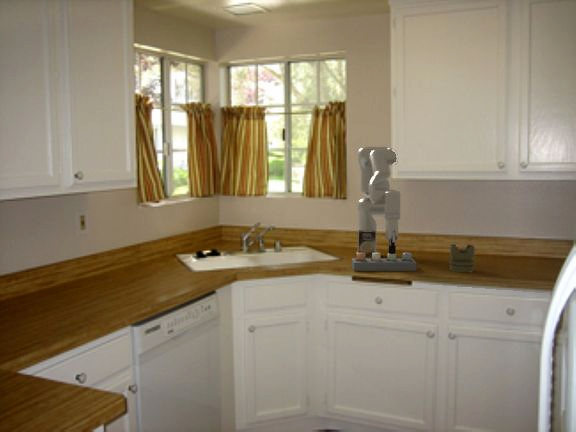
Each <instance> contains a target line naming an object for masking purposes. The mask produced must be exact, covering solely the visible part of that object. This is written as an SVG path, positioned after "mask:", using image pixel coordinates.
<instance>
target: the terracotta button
mask: <svg viewBox="0 0 576 432" xmlns="http://www.w3.org/2000/svg"><path fill="white" fill-rule="evenodd" d="M356 258H357V261H365V253H357V254H356Z"/></svg>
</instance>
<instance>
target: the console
mask: <svg viewBox="0 0 576 432" xmlns="http://www.w3.org/2000/svg"><path fill="white" fill-rule="evenodd" d="M417 263H418V262H416V260H415V259H413V258H412V257H411V261H403V257H401V258H400V257H399V258H397V257H396V261H388V257H386V258H381V260H380V261H372V258H365V261H357V257H354V258H353V257H352V258H351V268H352V270H353V271H354V272H359V271H360V272H364V271H365V272H369V271H370V272H375V271H376V272H377V271H378V272H379V271H380V272H382V271H384V272H388V271H389V272H392V271H393V272H394V271H395V272H403V271H405V272H406V271H408V272H410V271H411V272H412V271H413V272H416V271H417V269H418V267H417V266H418V265H417Z"/></svg>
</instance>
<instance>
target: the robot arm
mask: <svg viewBox="0 0 576 432" xmlns="http://www.w3.org/2000/svg"><path fill="white" fill-rule="evenodd" d="M392 149H393V148H391V147H389V146H364V147H363V146H362V147H361V148H359V149H358V152H357V160H358V164H359V167H360V192H361V194H362V195H364V196H369V197H363V198H360V199H359V200H358V202H357V211H358V222H359V223H358V230H373V231H376V232H377V221H376V219H375V218H374V217H373V216H378V215H379V216H382V215H384V220H385V236H384V238H385V239H386V240H387V241H388V253H389V254H396V255H397V253H396V251H397V249H396V248H397V246H396V245H397V244H396V243H397V240H398V239H399V221H400V220H401V192H400V191H399V190H396V189H391V185H390V182H389V180H388V179H389V178H390V176H391V170H390V166H393V165H392V164H393V163H394V162H396V159H397V158H396V154H395V152H393V151H392ZM355 253H356V255H357V253H358V251H356V252H355ZM375 253H380V252H379V251H377V245H376V246H375Z"/></svg>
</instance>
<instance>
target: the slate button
mask: <svg viewBox="0 0 576 432" xmlns="http://www.w3.org/2000/svg"><path fill="white" fill-rule="evenodd" d="M402 258H403V261H411V258H412V253H411V252H402Z"/></svg>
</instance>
